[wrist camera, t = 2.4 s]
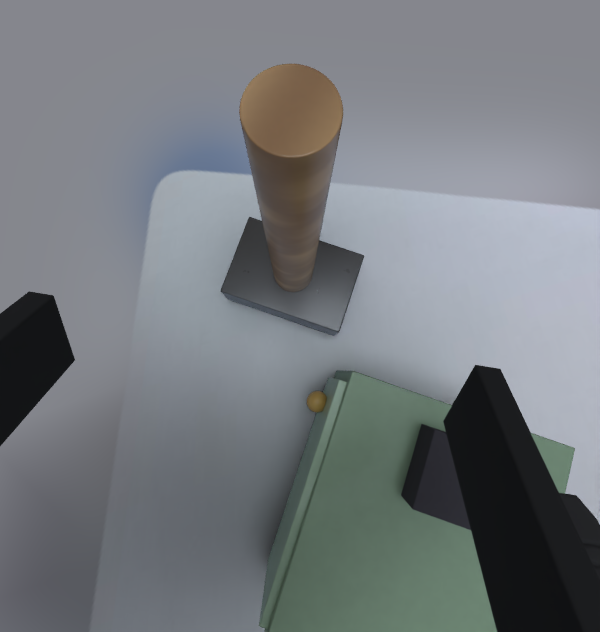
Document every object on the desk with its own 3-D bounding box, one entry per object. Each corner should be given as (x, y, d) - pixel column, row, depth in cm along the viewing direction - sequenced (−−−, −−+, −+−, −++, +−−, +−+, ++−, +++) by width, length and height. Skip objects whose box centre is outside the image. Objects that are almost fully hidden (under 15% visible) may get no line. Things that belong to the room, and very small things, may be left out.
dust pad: (400, 495, 20) (412, 509, 18) (421, 423, 20) (434, 429, 18) (471, 521, 20) (491, 537, 18) (490, 447, 20) (511, 456, 18)
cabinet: (249, 560, 27) (230, 641, 19) (315, 363, 29) (324, 360, 21) (443, 632, 26) (508, 746, 18) (496, 426, 28) (575, 448, 20)
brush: (227, 299, 29) (91, 154, 10) (253, 231, 30) (176, -30, 10) (334, 336, 29) (419, 265, 9) (357, 266, 30) (480, 66, 10)
